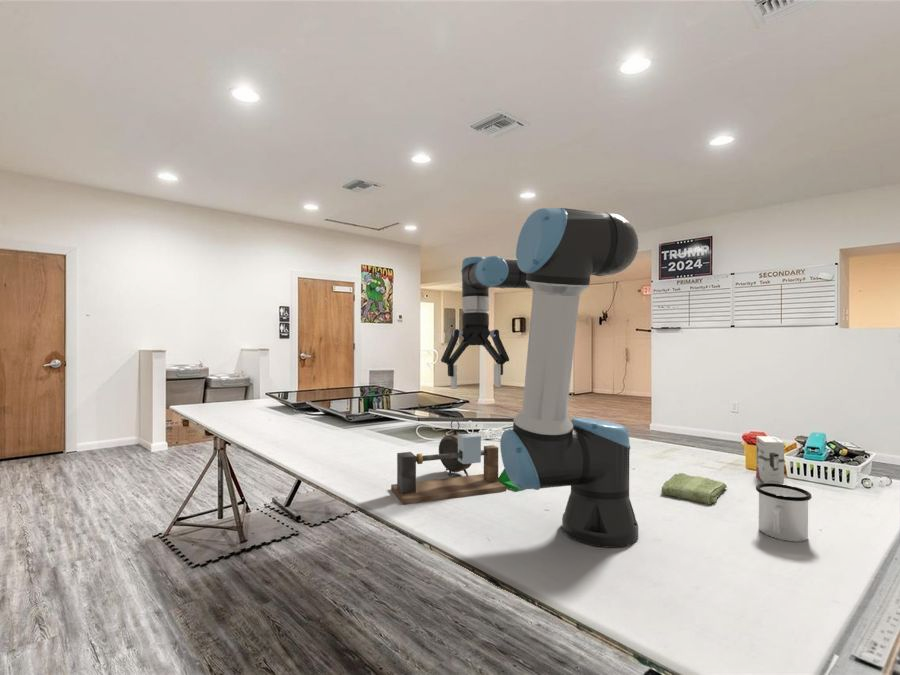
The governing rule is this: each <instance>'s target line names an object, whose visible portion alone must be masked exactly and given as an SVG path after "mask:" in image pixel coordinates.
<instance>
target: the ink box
mask: <svg viewBox="0 0 900 675" xmlns="http://www.w3.org/2000/svg"><path fill="white" fill-rule="evenodd" d="M755 467H756V469H755V472H756V474H755V475H756V476H757V477H758V478H759V480H761V481H762V482H763V483H775V484H784V485H785V443H784V441H783V440H781V439H780V438H778V437H777V436H767V435H765V436H763V435H756V466H755Z"/></svg>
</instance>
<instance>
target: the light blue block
mask: <svg viewBox="0 0 900 675" xmlns="http://www.w3.org/2000/svg"><path fill="white" fill-rule="evenodd" d="M481 450H482V436H481V435H479V434H477V433H475V432H474V433H464V434H463V433H461V434H460V435H458V452H462V457H461V458H458V461H459V462H461V463H462V464H470V463H472V464H478V463H481V462H482V455H481Z"/></svg>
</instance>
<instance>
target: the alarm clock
mask: <svg viewBox="0 0 900 675" xmlns="http://www.w3.org/2000/svg"><path fill="white" fill-rule="evenodd" d="M453 422H457V424H458V427H457V428H454V427H453V426H452V424H453ZM450 428H451V430H452V431H453V433H451V434H447V435H445V436H443V437H442V438H441V440H440V441H439V445H438V454H446V453H457V452H458V435H460V434H462V433H461V432H457V431H458V430H460V422H459V421H458V420H457V419H453V420H451V422H450ZM440 462H441V463H442V465H443V466H444V468H445V470H446V471H448V477H450V476H451V474H452V473H459V472H462V471H463V472H464V474H465V476H469V473H468V471H467V470H468V469H469V468H470V467H471V466H472V464H473V463H470V464H462V463H461V462H459V461H458V458H451V459H441V460H440Z"/></svg>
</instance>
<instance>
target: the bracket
mask: <svg viewBox="0 0 900 675" xmlns="http://www.w3.org/2000/svg"><path fill="white" fill-rule="evenodd" d="M498 481H499V482H500V483H502V484H503V485H505V486H506V489H509V490H513V491H515V492H520V491H524V490H525V489H519V488H517V487H516V486H514V485H513V483H512V482H511V481H510V479H509V478H508V476H507V473H506V471H505V468H504V469H503V470H502V471H501V473H500V474H499V475H498Z"/></svg>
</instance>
